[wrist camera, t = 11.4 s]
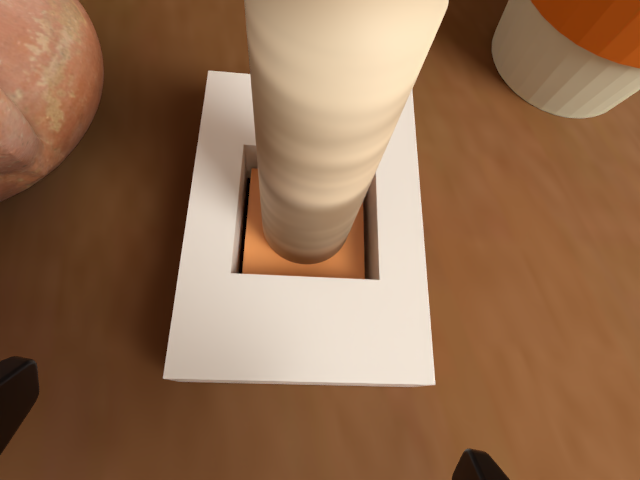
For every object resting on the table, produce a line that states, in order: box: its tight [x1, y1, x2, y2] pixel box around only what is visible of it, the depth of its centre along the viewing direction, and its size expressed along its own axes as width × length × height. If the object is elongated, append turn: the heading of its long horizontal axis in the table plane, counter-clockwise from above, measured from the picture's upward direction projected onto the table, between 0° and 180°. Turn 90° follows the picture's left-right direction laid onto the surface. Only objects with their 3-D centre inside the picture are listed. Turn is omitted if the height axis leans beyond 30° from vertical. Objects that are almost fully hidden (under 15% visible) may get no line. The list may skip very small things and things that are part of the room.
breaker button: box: [242, 168, 365, 279], centre depth 20 cm, size 5×5×2 cm
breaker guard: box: [163, 71, 435, 387], centre depth 19 cm, size 14×10×3 cm
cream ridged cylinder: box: [244, 0, 449, 264], centre depth 13 cm, size 4×4×12 cm
